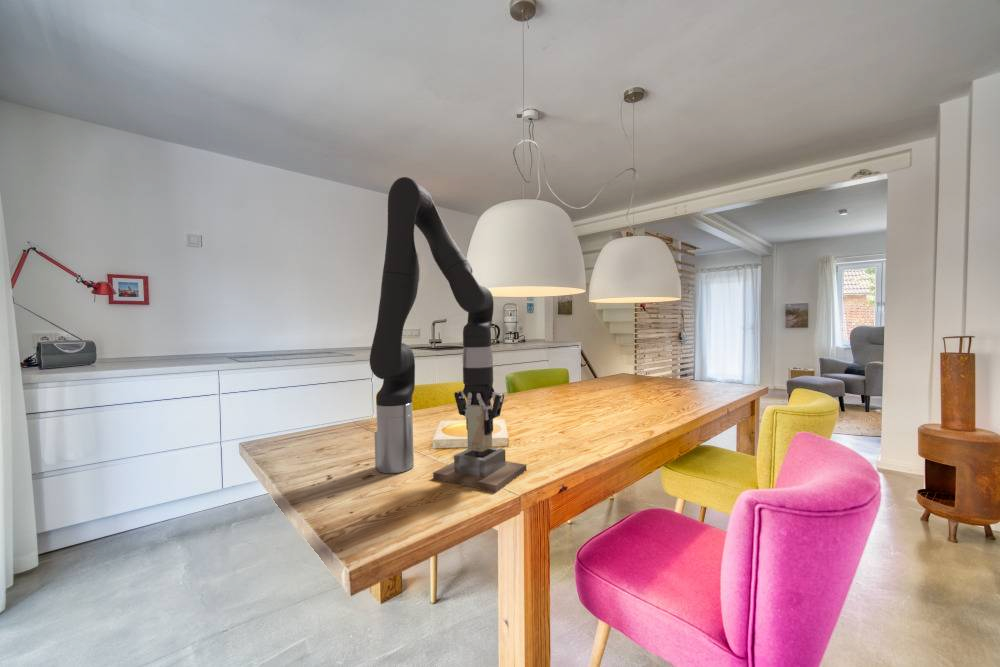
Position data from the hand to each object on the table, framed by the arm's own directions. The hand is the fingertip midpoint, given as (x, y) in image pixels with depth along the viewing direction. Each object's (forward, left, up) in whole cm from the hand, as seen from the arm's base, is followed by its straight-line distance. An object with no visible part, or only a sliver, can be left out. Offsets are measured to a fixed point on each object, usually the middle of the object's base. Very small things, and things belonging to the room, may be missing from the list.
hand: (479, 433), depth 97 cm
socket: (0, 0, -10) cm, 10 cm away
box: (0, 0, -4) cm, 4 cm away
